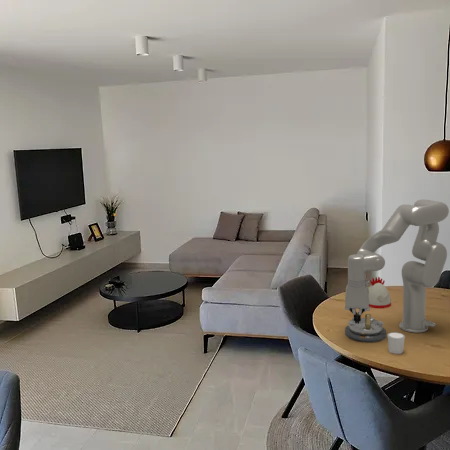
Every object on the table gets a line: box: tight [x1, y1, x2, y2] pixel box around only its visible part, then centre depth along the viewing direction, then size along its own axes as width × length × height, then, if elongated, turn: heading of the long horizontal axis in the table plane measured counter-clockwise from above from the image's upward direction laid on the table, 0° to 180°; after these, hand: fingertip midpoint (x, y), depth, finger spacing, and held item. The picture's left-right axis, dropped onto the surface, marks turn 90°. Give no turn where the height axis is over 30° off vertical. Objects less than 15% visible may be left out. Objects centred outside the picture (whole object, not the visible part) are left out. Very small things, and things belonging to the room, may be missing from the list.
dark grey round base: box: [344, 324, 387, 344], centre depth 220 cm, size 18×18×2 cm
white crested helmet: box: [368, 276, 392, 309], centre depth 258 cm, size 14×14×15 cm
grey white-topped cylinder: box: [386, 332, 406, 355], centre depth 202 cm, size 7×7×7 cm
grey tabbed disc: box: [347, 313, 384, 336], centre depth 219 cm, size 15×15×9 cm
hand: (357, 322), depth 214 cm, fingers closed
